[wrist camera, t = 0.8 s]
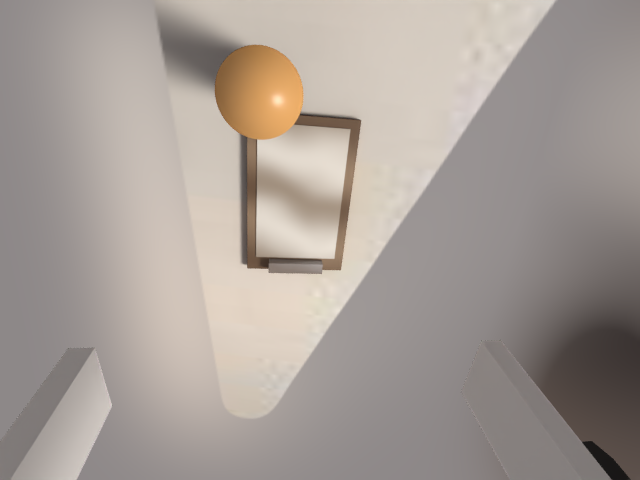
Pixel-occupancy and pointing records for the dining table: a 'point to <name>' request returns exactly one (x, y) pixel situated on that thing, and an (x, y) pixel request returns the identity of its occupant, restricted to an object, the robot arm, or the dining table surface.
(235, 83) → the marker
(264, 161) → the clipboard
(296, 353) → the dining table surface
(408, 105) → the dining table surface
